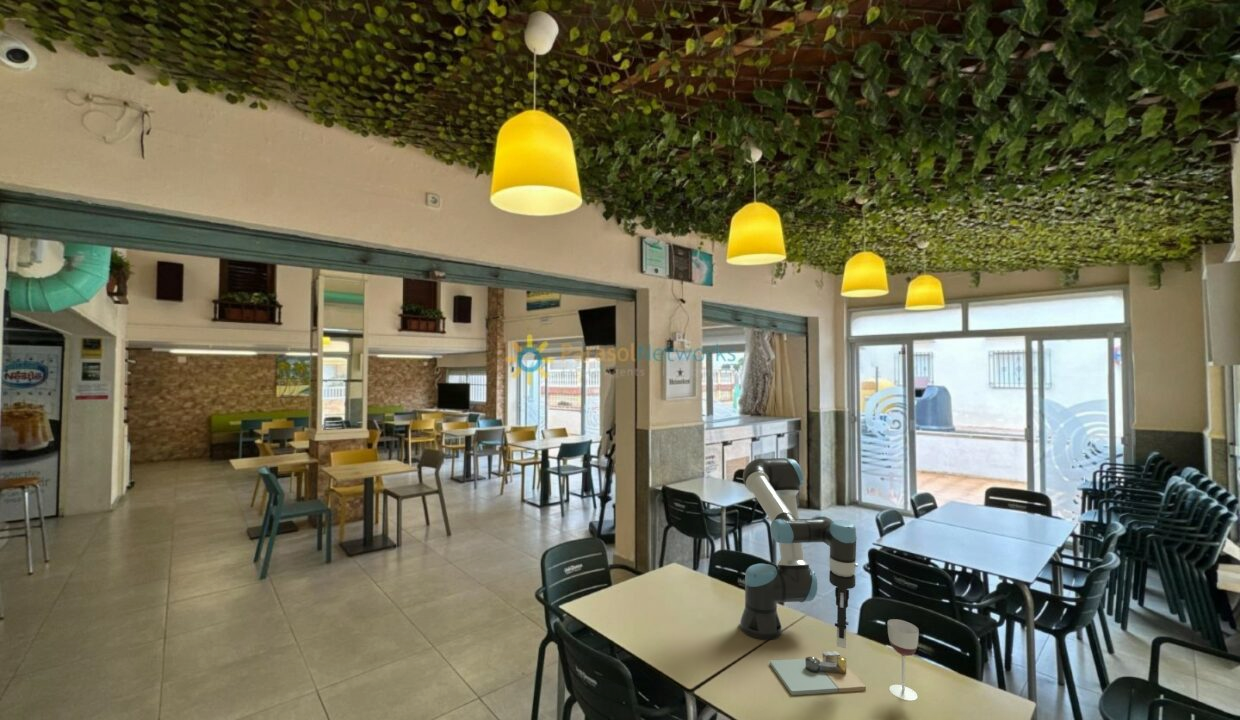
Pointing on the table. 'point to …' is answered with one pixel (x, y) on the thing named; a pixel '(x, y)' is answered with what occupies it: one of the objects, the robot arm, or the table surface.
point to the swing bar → (826, 665)
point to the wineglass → (903, 652)
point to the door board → (814, 678)
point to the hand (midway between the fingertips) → (841, 646)
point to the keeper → (830, 656)
